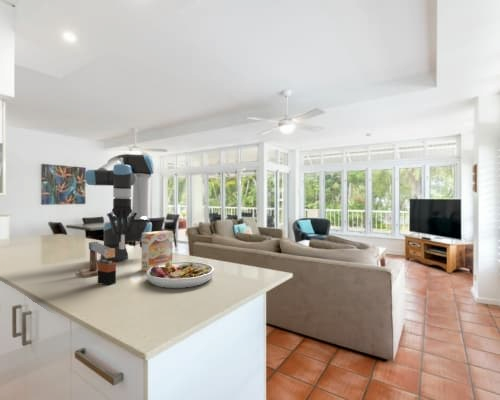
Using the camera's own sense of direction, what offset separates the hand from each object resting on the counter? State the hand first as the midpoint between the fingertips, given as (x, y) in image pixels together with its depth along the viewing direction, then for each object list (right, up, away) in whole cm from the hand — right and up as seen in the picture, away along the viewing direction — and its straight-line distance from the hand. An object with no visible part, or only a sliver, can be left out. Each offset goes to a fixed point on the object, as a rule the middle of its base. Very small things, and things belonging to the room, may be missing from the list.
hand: (121, 248), depth 128 cm
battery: (-4, -14, -6) cm, 16 cm away
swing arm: (-10, -2, 0) cm, 10 cm away
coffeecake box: (+10, -14, +20) cm, 26 cm away
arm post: (-18, -14, +8) cm, 24 cm away
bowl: (+27, -15, +1) cm, 31 cm away
